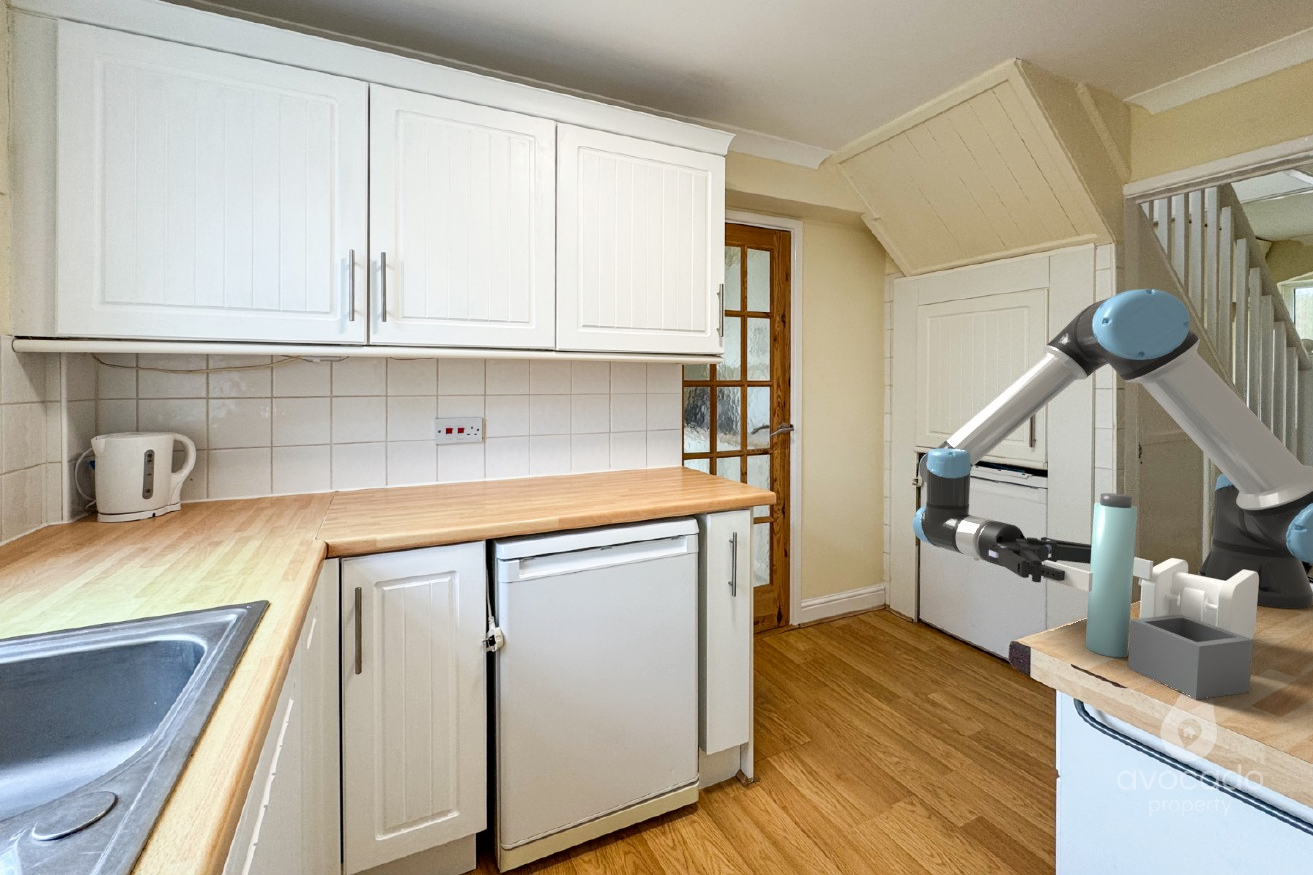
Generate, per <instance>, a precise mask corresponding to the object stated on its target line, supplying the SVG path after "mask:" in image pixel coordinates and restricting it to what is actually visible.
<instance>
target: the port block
mask: <svg viewBox="0 0 1313 875" xmlns="http://www.w3.org/2000/svg"><path fill="white" fill-rule="evenodd" d="M1253 643H1254V639H1253V640H1252V639H1250V638H1247V637H1244V636H1241V635H1238V634H1235V633H1232V632H1230V631H1227V630H1224V629H1221V628H1218V627H1215V626H1212V625H1210V624H1207V623H1204V622H1201V621H1198V620H1195V619H1192V618H1190V617H1187V616H1184V615H1181V614H1178V615H1169V616H1160V617H1151V618H1142V619H1140V618H1135V619H1130V627H1129V642H1128V660H1127V662H1128V664H1127V668H1128V669H1129V670H1131V671H1134V672H1136V673H1139V674H1140V675H1141V676H1144V677H1147V678H1149V679H1150V678H1151V680H1153V679H1154V680H1153V681H1154V682H1157V681H1158V682H1157V683H1159V682H1160V683H1159V684H1161V683H1163V684H1166V685H1168V686H1170V687H1172V688H1173V689H1172V688H1171V689H1172V690H1174V689H1177V690H1178V691H1181V692H1184V693H1185V694H1187V695H1190V696H1191V697H1192V698H1191V697H1190V698H1191V699H1193V698H1194V699H1193V700H1195V699H1196V701H1197V700H1203V699H1202V698H1206V699H1211V697H1212V698H1219V697H1223V696H1224V697H1225V696H1233V695H1239V694H1245V693H1250V685H1251V673H1252V672H1251V671H1252V659H1253V658H1252V657H1253V647H1254V646H1253V645H1254V644H1253ZM1163 684H1162V685H1163ZM1178 691H1177V692H1178ZM1218 696H1219V697H1218ZM1207 697H1208V698H1207Z"/></svg>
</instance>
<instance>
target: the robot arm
mask: <svg viewBox="0 0 1313 875" xmlns="http://www.w3.org/2000/svg"><path fill="white" fill-rule="evenodd" d="M1190 322H1191V317H1190V313H1189V311H1188V309H1187V306H1186V305H1185V304H1184V303H1183V301H1182V300H1180V299H1179V298H1178V297H1176V296H1175V295H1173V294H1172V293H1168V292H1167V291H1164V290H1160V289H1154V288H1153V289H1152V288H1143V289H1142V288H1141V289H1131V290H1126V291H1122V292H1120V293H1116V294H1115V295H1113V296H1111V297H1108V298H1106V299H1103V300H1100V301H1096V302H1095V303H1092V304H1090V305H1089V306H1087V307H1086V308H1084V309H1083V310H1081V311H1080V312H1079V313H1078V314H1077V315H1076V316H1075V317H1074V318H1073V319H1072V320H1071V321H1070V322H1069V323H1068V324H1067V325H1066V326H1065V327H1064V328H1063V329H1062V330H1061V331H1060V332H1059V333H1057V334H1056V336H1054V337H1053V338H1052V339H1051V341H1049V342H1048V343H1047V344H1046V345H1045V346H1044V347H1043V354H1042V355H1041V356H1040V357H1039V358H1038V359H1037V360H1036V361H1034V362H1033V363H1032V364H1031V365H1030V366H1028V367H1027V369H1025V370H1024V371H1023V372H1022V373H1020V375H1018V377H1016V378H1015V379H1014V380H1013V381H1011V383H1009V384H1008V385H1007V386H1006V387H1005V388H1004V389H1002V390H1001V391H1000V392H999V393H998V394H997V395H996V396H994V397H993V398H992V399H991V400H990V401H989V402H988V403H987V404H985V405H984V406H983V407H982V408H981V409H979V411H977V412H976V413H975V414H974V415H973V416H971V417H970V418H969V419H968V420H967V421H966V422H964V423H963V425H961V426H960V427H959V428H958V429H957V430H955V431H954V432H953V433H952V434H951V435H950V436H949V437H948V438H947V439H945V441H944V442H942V443H941V444H940V445H939V446H937V447H936V448H933V449H931V450H929V451H928V452H927V453H925V454H924V455H923V456H922V458H921V459H920V462H919V465H918V467H919V468H918V469H919V470H918V471H919V474H920V477H921V478H922V480H923V482H924V483H926V502H925V505H923V506H922V507H920V508H919V509H918V510H917V511H916V512H915V517H914V518H913V519H912V530H913V533H914V534H915V536H916V537H917V539H919V540H921V541H922V542H924V543H927V544H930V545H932V546H933V547H936V548H942V549H945V550H948V551H950V552H954V553H955V552H956V553H959V554H962V555H964V556H968V557H972V558H973V560H974V561H977V562H978V561H980V560H982V561H985V562H988V563H990V564H994V565H995V566H996V565H997V566H999V567H1002V568H1006V569H1007V570H1009V571H1011V572H1012V573H1013V574H1015V575H1017V576H1019V577H1020V578H1023V579H1027V578H1029V576H1031V582H1032V583H1041V582H1042V577H1043V579H1045V580H1048V581H1050V582H1055V583H1058V584H1060V585H1063V586H1067V587H1071V588H1074V589H1076V590H1077V589H1078V590H1081V591H1084V592H1087V593H1089V592H1091V591H1092V580H1093V573H1092V572H1090V571H1089V570H1088V571H1087V570H1085V569H1080V568H1078V567H1073V566H1069V565H1066V564H1062V563H1059V562H1058V561H1061V562H1068V563H1069V562H1071V563H1077V564H1080V563H1081V564H1088V565H1091V548H1092V544H1088V543H1082V542H1075V541H1067V540H1062V539H1061V540H1059V539H1055V538H1050V537H1047V536H1043V537H1040V539H1039V538H1037V537H1031V536H1030V537H1027V536H1026V537H1025V535H1024V533H1023V531H1022V530H1021V528H1020V527H1018V526H1016V525H1014V524H1010V523H1007V522H1001V521H996V520H994V519H990V518H985V517H980V516H977V515H976V516H975V515H972V514H970V493H971V492H970V491H971V490H970V488H971V487H970V486H971V473H972V468H973V467H974V466H975V465H976V464H978V462H980V461H981V460H982V459H983V458H984V457H985V456H987V455H988V454H989V453H990V452H991V451H993V450H994V449H995V448H996V447H997V446H999V444H1001V443H1002V442H1003V441H1005V440H1006V439H1007V438H1008V437H1009V436H1010V435H1011V434H1013V433H1015V431H1016V430H1018V429H1019V428H1021V426H1022V425H1024V424H1025V423H1026V422H1027V421H1028V420H1029V419H1031V418H1032V417H1034V415H1036V414H1037V413H1038V412H1039V411H1040V410H1042V408H1044V407H1045V406H1046V405H1047V404H1049V403H1050V402H1051V401H1052V400H1053V399H1055V398H1056V397H1057V396H1058V395H1060V394H1061V393H1062V392H1063V391H1065V390H1066V389H1067V388H1068V387H1069V386H1070V385H1071V384H1072V383H1074V382H1075V381H1077V380H1079V381H1080V380H1086V379H1087V378H1089V377H1090V376H1091V375H1092V374H1093V373H1095V372H1096V371H1098V370H1099V369H1101V368H1102V367H1104V366H1106V365H1109V366H1111V368H1113V370H1114V371H1115V372H1116V373H1117V374H1118V375H1119V376H1120V378H1122V380H1123V381H1124V382H1126V383H1136V384H1140V385H1142V386H1143V387H1144V389H1145V390H1146V391H1147V392H1148V393H1149V394H1150V395H1151V396H1152V397H1153V399H1154V400H1156V402H1157V403H1158V404H1159V405H1160V406H1161V407H1162V408H1163V409H1164V411H1166V413H1167V414H1168V415H1169V416H1170V417H1171V418H1172V419H1173V420H1174V422H1176V423H1177V425H1178V426H1179V427H1180V428H1181V429H1182V430H1183V431H1184V432H1185V433H1186V435H1187V436H1188V437H1189V438H1190V439H1191V440H1192V441H1193V442H1194V443H1195V445H1197V446H1198V447H1199V449H1200V450H1201V451H1202V452H1203V453H1204V454H1205V455H1206V456H1207V457H1208V459H1209V460H1210V461H1211V462H1212V463H1213V464H1214V465H1215V466H1216V467H1217V468H1218V469H1219V471H1221V474H1220V475H1218V477H1217V478H1216V479H1217V480H1216V483H1215V488H1214V489H1213V490H1214V491H1213V492H1214V503H1213V504H1214V507H1213V508H1214V509H1213V520H1212V521H1213V522H1212V523H1213V526H1212V541H1211V548H1210V550H1209V552H1208V554H1207V556H1206V558H1205V560H1204V562H1203V563H1202V565H1201V567H1200V569H1199V570H1198V573H1197V575H1198V576H1203V577H1208V578H1213V579H1218V580H1223V581H1227V580H1228V579H1230V578H1231V577H1233V576H1234V575H1236V574H1237V573H1239V572H1240V571H1242V570H1249V571H1255V572H1257V573H1258V576H1259V586H1258V599H1257V606H1264V607H1271V608H1272V607H1273V608H1283V609H1304V608H1309V607H1311V606H1312V605H1313V589H1312V586H1311V583H1310V580H1309V578H1308V575H1307V573H1306V570H1305V567H1304V565H1303V562H1304V563H1307V564H1313V466H1311V465H1305V464H1302V463H1301V462H1300V460H1298V458H1296V456H1295V455H1294V454H1293V453H1292V452H1291V451H1290V450H1289V449H1288V448H1287V447H1286V446H1285V445H1284V444H1283V442H1281V441H1280V439H1279V438H1278V437H1277V436H1276V435H1275V434H1274V433H1273V432H1272V431H1271V430H1270V428H1268V426H1266V424H1264V422H1262V421H1261V419H1260V418H1259V417H1258V416H1257V415H1256V414H1255V413H1254V412H1253V411H1252V410H1251V409H1250V408H1249V407H1248V405H1247V404H1246V403H1245V402H1244V401H1243V400H1242V399H1241V398H1240V397H1239V396H1238V395H1237V394H1236V393H1235V391H1233V390H1232V388H1230V386H1229V385H1228V384H1227V383H1226V382H1225V381H1224V380H1223V379H1222V378H1221V377H1220V376H1219V375H1218V374H1217V372H1215V371H1214V370H1213V368H1212V367H1211V366H1210V365H1209V364H1208V363H1207V362H1206V361H1205V360H1204V358H1202V356H1201V355H1199V353H1198V348H1199V345H1200V342H1201V339H1200V338H1199V336H1198V335H1196V333H1195V332H1194V331H1193V330H1192V329H1191V328H1190ZM1049 555H1050V556H1049ZM1153 567H1154V561H1153V560H1149V559H1148V560H1147V559H1145V558H1140V557H1136V556H1134V568H1133V577H1138V578H1139V577H1141V578H1145V579H1148V580H1150V579H1152V574H1153Z"/></svg>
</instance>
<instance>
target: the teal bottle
mask: <svg viewBox="0 0 1313 875" xmlns="http://www.w3.org/2000/svg"><path fill="white" fill-rule="evenodd" d="M1099 500H1100V502H1095V503H1093V504H1094V505H1093V520H1092V535H1091V536H1092V537H1091V545H1092V548H1091V564H1089V565H1090V566H1089V567H1090V569H1089V572H1092V573H1093V580H1092V591H1091V592H1088V600H1087V614H1086V616H1087V618H1086V631H1085V632H1086V633H1085V647H1086V648H1087V649H1088V650H1090V651H1091V652H1093V653H1095V654H1099V655H1102V656H1105V657H1110V658H1126V657H1128V656H1129V641H1130V623H1131V610H1132V595H1133V594H1132V593H1133V582H1134V581H1133V579H1134V576H1133V568H1134V557H1135V550H1136V536H1137V535H1136V534H1137V521H1138V507H1137V506H1135V505H1132V504H1133V503H1132V502H1133V501H1132V500H1133V497H1132V496H1131V495H1129V494H1123V493H1121V494H1120V493H1111V492H1110V493H1109V492H1108V493H1106V492H1105V493H1101V494H1100V499H1099Z"/></svg>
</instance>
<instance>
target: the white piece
mask: <svg viewBox="0 0 1313 875" xmlns="http://www.w3.org/2000/svg"><path fill="white" fill-rule="evenodd" d="M1138 586H1141V587H1140V588H1141V589H1140V590H1141V591H1140V604H1139V605H1140V606H1139V607H1140V608H1139V619H1142V618H1151V617H1160V616H1169V615H1178V614H1181V615H1184V616H1187V617H1190V618H1192V619H1195V620H1198V621H1201V622H1204V623H1207V624H1210V625H1212V626H1215V627H1218V628H1221V629H1224V630H1227V631H1230V632H1232V633H1235V634H1238V635H1241V636H1244V637H1247V638H1250V639H1252V640H1253V641H1254V637H1255V634H1256V623H1257V622H1256V621H1257V611H1258V610H1257V609H1258V605H1257V599H1258V586H1259V576H1258V573H1257V572H1255V571H1249V570H1242V571H1240V572H1239V573H1237V574H1236V575H1234V576H1233V577H1231V578H1230V579H1228V580H1227V581H1223V580H1218V579H1213V578H1208V577H1203V576H1198V574H1193V573H1192V574H1191V573H1189V564H1188V562H1187V560H1185V559H1179V558H1175V557H1171V558H1169V559H1166V560H1164V561H1163V562H1160V563H1159V564H1157V565H1153V574H1152V579H1150V580H1148V579H1145V578H1141V577H1138Z"/></svg>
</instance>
